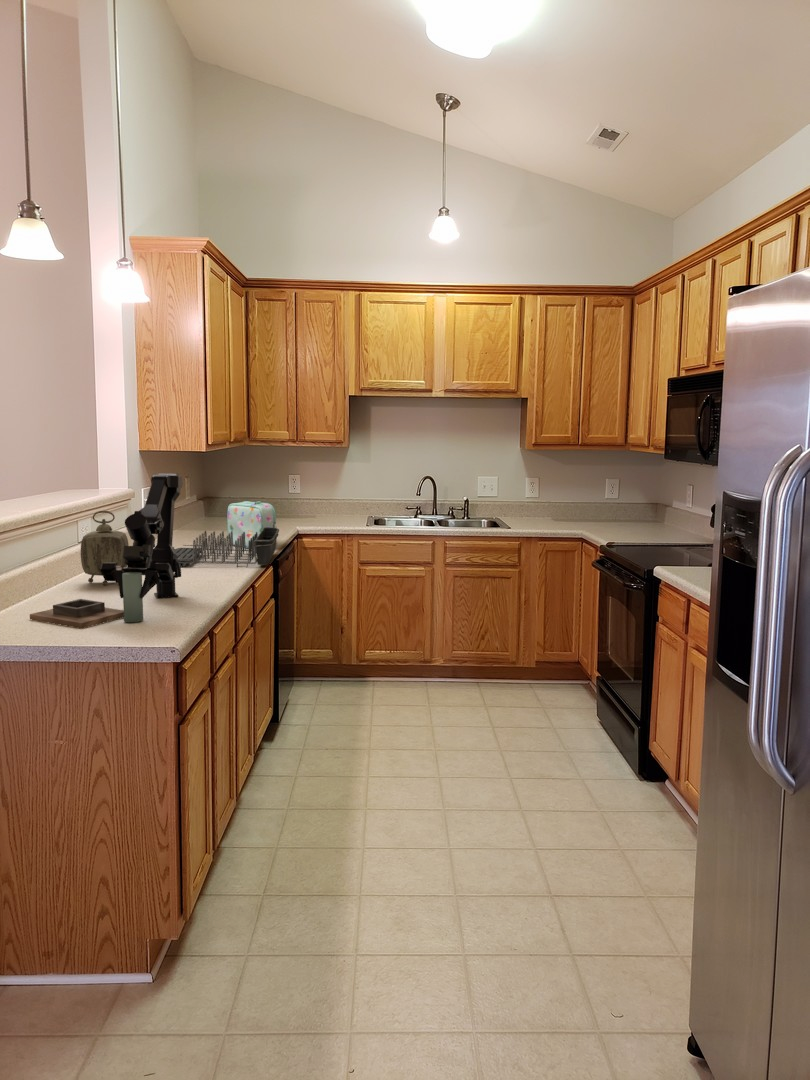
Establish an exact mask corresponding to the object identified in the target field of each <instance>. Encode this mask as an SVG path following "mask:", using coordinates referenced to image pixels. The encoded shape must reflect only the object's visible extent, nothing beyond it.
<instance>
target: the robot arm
mask: <svg viewBox="0 0 810 1080" xmlns="http://www.w3.org/2000/svg"><path fill="white" fill-rule="evenodd" d="M150 482H151V483H150V487H149V491H148V495H147V497H146V499H145V500H146V501H145V504H144V506H143V507H142V508H141V509H140V510H134V513H133V514H131V515H128V516H127V517H126V519H125V520H124V525H125V529H126V530H127V534H128V535H129V537H130V539H131V540H132V541H133V543H132V545H129V546H124V548H123V558H124V559H125V564H126V565H128V566H127V567H123V566H118V565H117V563H115V562H104V563H103V564H102V565H101V567H100V571H101V573H102V575H103V576H102V577H103V580H104V579H105V580H106V581H107V582H115V583H116V584H117V585H118V591H119V596H120V599H123V580H122V574H123V573H126V572H141V573H142V576H144V580H143V582H142V589H141V594H140V598H144V597H145V596H146V595H147V594H148V593H149V592H150V590H151V589H153V588H154V587H155V586H156V592H154V593H153V595H154V596H155V597H156V598H157V599H162V598H161V597H165V598H173V596H174V598H175V596H177V597H179V594H178V593H177V592H176V579H178V578H181V577H182V567H180V566H181V565H180V563H179V562H178V559H177V554H176V553H175V551H174V549H175V548H174V549H173V547H174V546H173V535H174V534H173V533H174V518H175V517H174V516H175V502H176V500H177V499H178V498H179V497H180V495H181V489H182V488H183V484H184V482H183V477H182V476H180V475H179V473H175V472H174V473H169V472H168V473H167V472H166V473H165V472H164V473H163V472H160V473H159V472H158V473H157V474H154V475H151V478H150ZM155 535H157V539H156V538H155Z"/></svg>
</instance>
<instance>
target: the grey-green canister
mask: <svg viewBox="0 0 810 1080" xmlns="http://www.w3.org/2000/svg"><path fill="white" fill-rule="evenodd" d="M122 580H123V598H122V601H123V602H122V603H123V604H122V605H123V610H124V617H123V621H124V622H126V623H138V622H142V621H144V601H143V600H144V599H143V598H144V597H143V598H140V594H141V589H142V586H143V575H142V573H141V572H126V573H123V574H122Z"/></svg>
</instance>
